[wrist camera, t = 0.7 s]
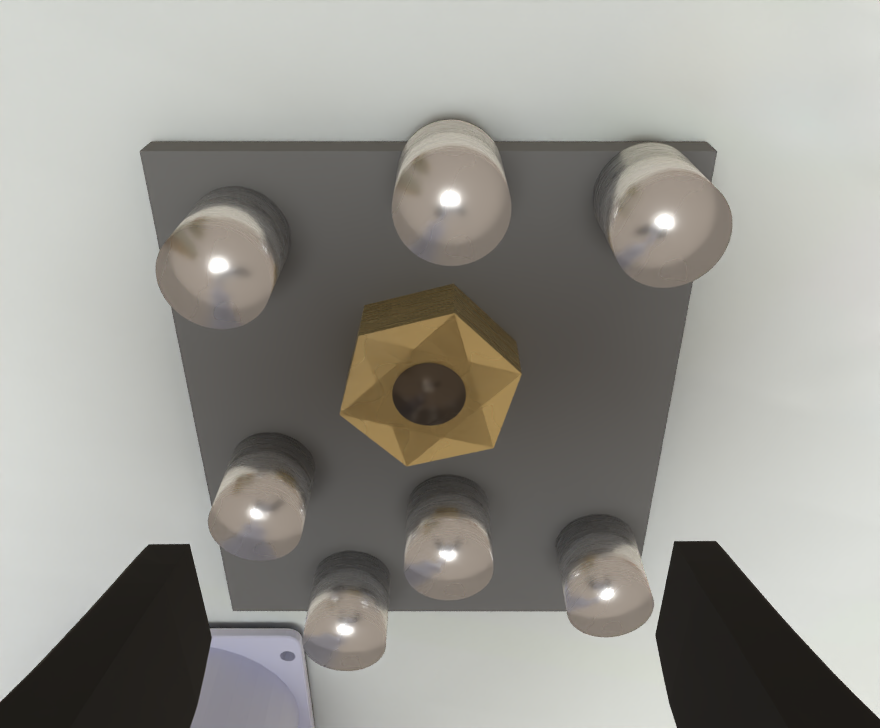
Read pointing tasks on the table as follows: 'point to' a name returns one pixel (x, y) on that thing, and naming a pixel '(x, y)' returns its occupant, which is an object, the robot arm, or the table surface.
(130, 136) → the table surface
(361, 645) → the spacers
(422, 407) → the nut
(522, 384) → the mat
